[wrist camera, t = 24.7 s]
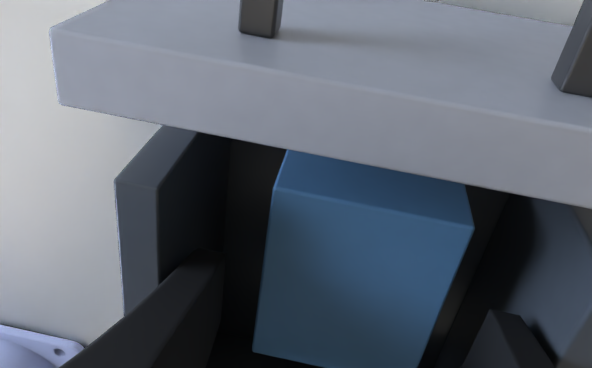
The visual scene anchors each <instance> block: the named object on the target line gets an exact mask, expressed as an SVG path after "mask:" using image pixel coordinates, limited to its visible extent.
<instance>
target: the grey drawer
mask: <svg viewBox="0 0 592 368" xmlns="http://www.w3.org/2000/svg"><path fill="white" fill-rule="evenodd" d="M49 36H50V43H51V51H52V58H53V66H54V73H55V81H56V88H57V96H58V102H59V104H61V105H64V106H69V107H74V108H79V109H84V110H90V111H95V112H100V113H105V114H110V115H115V116H120V117H125V118H130V119H135V120H140V121H146V122H151V123H156V124H161V125H162V127H161V128H160V129H159V130H158V131H157V132H156V133H155V134H154V136H153V137H152V138H151V139H150V140H149V141H148V142H147V143H146V145H145V146H144V147H143V148H142V149H141V150H140V151H139V152H138V154H137V155H136V156H135V157H134V158H133V159H132V160H131V161H130V163H129V164H128V165H127V166H126V167H125V168H124V169H123V170H122V172H121V173H120V174H119V175H118V176H117V177H116V178H115V180H114V190H115V203H116V216H117V229H118V243H119V256H120V269H121V282H122V295H123V309H124V316H125V315H127V314H128V313H129V312H130V311H131V310H132V309H133V308H134V307H136V306H137V305H138V304H139V303H140V302H141V301H142V300H143V299H144V298H146V297H147V296H148V295H149V294H150V293H151V292H152V291H153V290H154V289H155V288H156V287H158V286H159V285H160V284H161V283H162V282H163V281H164V280H165V279H166V278H167V277H168V276H169V275H170V274H171V273H172V272H173V271H174V270H175V269H176V268H177V267H178V266H179V265H180V264H181V263H182V262H183V261H184V260H185V259H186V258H187V257H188V256H189V254H190V253H191V252H192V251H193V250H195V249H197V248H203V249H207V250H212V251H217V252H222V253H226V260H225V274H224V287H223V300H222V313H221V321H220V325H219V328H218V331H217V334H216V337H215V341H214V344H213V347H212V350H211V353H210V356H209V359H208V362H207V365H206V367H205V368H323V367H319V366H314V365H310V364H305V363H301V362H296V361H292V360H287V359H283V358H278V357H274V356H269V355H265V354H260V353H256V352H253V351H252V343H253V336H254V328H255V320H256V313H257V305H258V297H259V290H260V282H261V274H262V266H263V259H264V251H265V243H266V236H267V228H268V220H269V213H270V205H271V197H272V190H273V186H274V183H275V181H276V178H277V175H278V173H279V170H280V167H281V164H282V162H283V159H284V156H285V154H286V151H287V149H288V150H293V151H298V152H303V153H309V154H314V155H319V156H324V157H329V158H334V159H339V160H344V161H349V162H354V163H359V164H365V165H370V166H375V167H380V168H385V169H390V170H395V171H400V172H405V173H410V174H415V175H421V176H426V177H431V178H436V179H441V180H446V181H451V182H456V183H461V184H465V187H466V192H467V196H468V200H469V205H470V209H471V213H472V217H473V222H474V226H475V230H474V232H473V235H472V237H471V240H470V242H469V245H468V247H467V249H466V252H465V254H464V257H463V259H462V261H461V264H460V266H459V269H458V271H457V273H456V276H455V278H454V281H453V283H452V285H451V288H450V290H449V293H448V295H447V297H446V300H445V302H444V305H443V307H442V310H441V312H440V314H439V317H438V319H437V322H436V324H435V326H434V329H433V331H432V334H431V336H430V338H429V341H428V343H427V346H426V348H425V350H424V353H423V355H422V358H421V360H420V363H419V365H418V367H417V368H461V367H462V365H463V363H464V361H465V359H466V357H467V355H468V353H469V351H470V349H471V347H472V345H473V342H474V340H475V338H476V336H477V334H478V332H479V330H480V328H481V326H482V324H483V322H484V320H485V318H486V316H487V314H488V312H489V310H490V309H492V310H497V311H502V312H507V313H511V314H516V315H520V316H521V318H522V319H523V320H524V322H525V323H526V325H527V326H528V328H529V329H530V331H531V332H532V334H533V335H534V336H535V338H536V339H537V341H538V342H539V344H540V345H541V347H542V348H543V350H544V351H545V353H546V354H547V356H548V357H549V359H550V360H551V362H552V363H553V364H554V366H555V367H556V368H592V0H584V2H583V4H582V6H581V9H580V11H579V13H578V16H577V18H576V20H575V23H574V25H573V26H569V25H563V24H557V23H551V22H546V21H540V20H534V19H529V18H523V17H517V16H511V15H506V14H500V13H494V12H489V11H483V10H477V9H471V8H466V7H460V6H454V5H449V4H443V3H437V2H431V1H426V0H109V1H107V2H104V3H102V4H100V5H98V6H96V7H94V8H92V9H89V10H87V11H85V12H83V13H81V14H79V15H77V16H74V17H72V18H70V19H68V20H66V21H64V22H62V23H59V24H57V25H55V26H53V27H51V28H50V30H49Z"/></svg>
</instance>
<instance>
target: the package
mask: <svg viewBox="0 0 592 368" xmlns="http://www.w3.org/2000/svg"><path fill="white" fill-rule="evenodd" d="M474 230H475V226H474V222H473V217H472V213H471V209H470V205H469V200H468V196H467V192H466V187H465V184H461V183H456V182H451V181H446V180H441V179H436V178H431V177H426V176H421V175H415V174H410V173H405V172H400V171H395V170H390V169H385V168H380V167H375V166H370V165H365V164H359V163H354V162H349V161H344V160H339V159H334V158H329V157H324V156H319V155H314V154H309V153H303V152H298V151H293V150H288V149H287V151H286V154H285V156H284V159H283V162H282V164H281V167H280V170H279V173H278V175H277V178H276V181H275V183H274V186H273V190H272V197H271V205H270V213H269V220H268V228H267V236H266V243H265V251H264V259H263V266H262V274H261V282H260V290H259V297H258V305H257V313H256V320H255V328H254V336H253V343H252V351H253V352H256V353H260V354H265V355H269V356H274V357H278V358H283V359H287V360H292V361H296V362H301V363H305V364H310V365H314V366H319V367H323V368H417V367H418V365H419V363H420V360H421V358H422V355H423V353H424V350H425V348H426V346H427V343H428V341H429V338H430V336H431V334H432V331H433V329H434V326H435V324H436V322H437V319H438V317H439V314H440V312H441V310H442V307H443V305H444V302H445V300H446V297H447V295H448V293H449V290H450V288H451V285H452V283H453V281H454V278H455V276H456V273H457V271H458V269H459V266H460V264H461V261H462V259H463V257H464V254H465V252H466V249H467V247H468V245H469V242H470V240H471V237H472V235H473V232H474Z"/></svg>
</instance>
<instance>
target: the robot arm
mask: <svg viewBox="0 0 592 368" xmlns="http://www.w3.org/2000/svg"><path fill="white" fill-rule="evenodd" d="M225 260H226V253H222V252H217V251H212V250H207V249H203V248H197V249H195V250H193V251H192V252H191V253H190V254H189V256H188V257H187V258H186V259H185V260H184V261H183V262H182V263H181V264H180V265H179V266H178V267H177V268H176V269H175V270H174V271H173V272H172V273H171V274H170V275H169V276H168V277H167V278H166V279H165V280H164V281H163V282H162V283H161V284H160V285H159V286H158V287H156V288H155V289H154V290H153V291H152V292H151V293H150V294H149V295H148V296H147V297H146V298H144V299H143V300H142V301H141V302H140V303H139V304H138V305H137V306H136V307H134V308H133V309H132V310H131V311H130V312H129V313H128V314H127V315H125V316H124V317H123V318H122V319H121V320H119V321H118V322H117V323H116V324H115V325H113V326H112V327H111V328H110V329H108V330H107V331H106V332H105V333H103V334H102V335H101V336H100V337H99V338H97V339H96V340H95V341H94V342H92V343H91V344H90V345H89V346H87V347H86V348H85V349H84V347H83V346H82V345H81V344H79V343H78V342H75V341H71V340H67V339H62V338H58V337H54V336H49V335H45V334H40V333H36V332H31V331H27V330H23V329H18V328H14V327H9V326H5V325H1V324H0V368H205V367H206V365H207V362H208V359H209V356H210V353H211V350H212V347H213V344H214V341H215V337H216V334H217V331H218V328H219V325H220V321H221V313H222V300H223V287H224V274H225ZM461 368H556V367H555V366H554V364H553V363H552V362H551V360H550V359H549V357H548V356H547V354H546V353H545V351H544V350H543V348H542V347H541V345H540V344H539V342H538V341H537V339H536V338H535V336H534V335H533V334H532V332H531V331H530V329H529V328H528V326H527V325H526V323H525V322H524V320H523V319H522V318H521V316H520V315H516V314H511V313H507V312H502V311H497V310H492V309H490V310H489V312H488V314H487V316H486V318H485V320H484V322H483V324H482V326H481V328H480V330H479V332H478V334H477V336H476V338H475V340H474V342H473V345H472V347H471V349H470V351H469V353H468V355H467V357H466V359H465V361H464V363H463V365H462V367H461Z"/></svg>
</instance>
